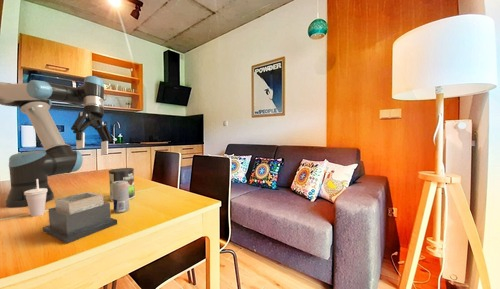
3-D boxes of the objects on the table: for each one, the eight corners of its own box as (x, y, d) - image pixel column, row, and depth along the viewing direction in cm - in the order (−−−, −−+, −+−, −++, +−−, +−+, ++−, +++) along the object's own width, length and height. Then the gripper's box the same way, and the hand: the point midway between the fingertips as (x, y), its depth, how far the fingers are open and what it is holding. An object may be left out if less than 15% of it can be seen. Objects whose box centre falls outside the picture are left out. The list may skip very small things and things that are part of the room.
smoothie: (53, 212, 82) (50, 178, 81) (31, 219, 76) (28, 181, 75) (43, 210, 84) (40, 177, 83) (21, 216, 78) (18, 180, 77)
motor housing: (43, 231, 66) (40, 199, 65) (92, 215, 78) (91, 188, 77) (66, 243, 58) (64, 207, 58) (117, 224, 71) (115, 194, 70)
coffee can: (139, 195, 103) (138, 167, 102) (123, 202, 93) (121, 171, 92) (122, 194, 105) (121, 167, 104) (104, 201, 95) (102, 171, 94)
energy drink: (118, 208, 85) (117, 180, 85) (131, 208, 86) (130, 180, 85) (110, 213, 80) (109, 183, 79) (125, 213, 80) (123, 183, 80)
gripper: (79, 93, 83) (77, 143, 78) (119, 116, 107) (120, 155, 102) (60, 96, 83) (58, 146, 78) (105, 119, 107) (105, 158, 102)
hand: (93, 151), depth 90 cm, fingers open, 13 cm apart
